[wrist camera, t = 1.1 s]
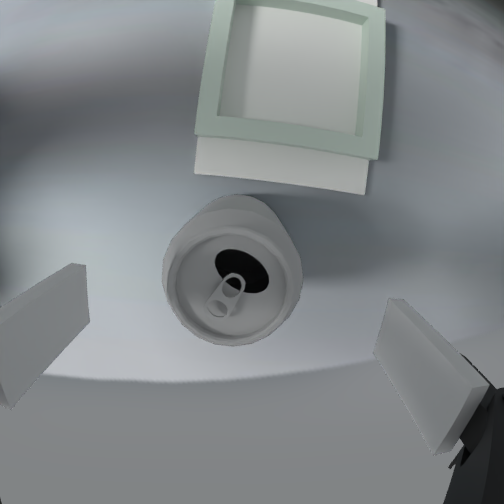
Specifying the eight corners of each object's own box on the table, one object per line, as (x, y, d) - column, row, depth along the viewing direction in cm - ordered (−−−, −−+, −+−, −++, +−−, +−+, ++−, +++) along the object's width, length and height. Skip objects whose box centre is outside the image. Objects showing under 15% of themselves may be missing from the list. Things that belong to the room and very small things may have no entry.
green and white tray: (195, 173, 25) (189, 174, 23) (226, -29, 20) (224, -43, 18) (362, 194, 26) (372, 197, 23) (374, -4, 21) (384, -15, 18)
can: (300, 227, 26) (340, 272, 15) (249, 297, 28) (250, 381, 16) (225, 175, 25) (206, 179, 14) (176, 249, 27) (127, 308, 15)
